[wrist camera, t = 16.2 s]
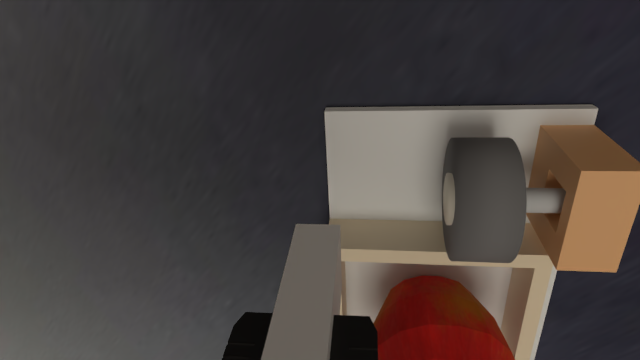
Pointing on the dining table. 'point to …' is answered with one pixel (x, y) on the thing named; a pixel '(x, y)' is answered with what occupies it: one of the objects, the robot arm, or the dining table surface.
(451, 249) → the wheel
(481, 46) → the dining table surface
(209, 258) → the dining table surface
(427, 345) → the apple
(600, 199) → the chassis
